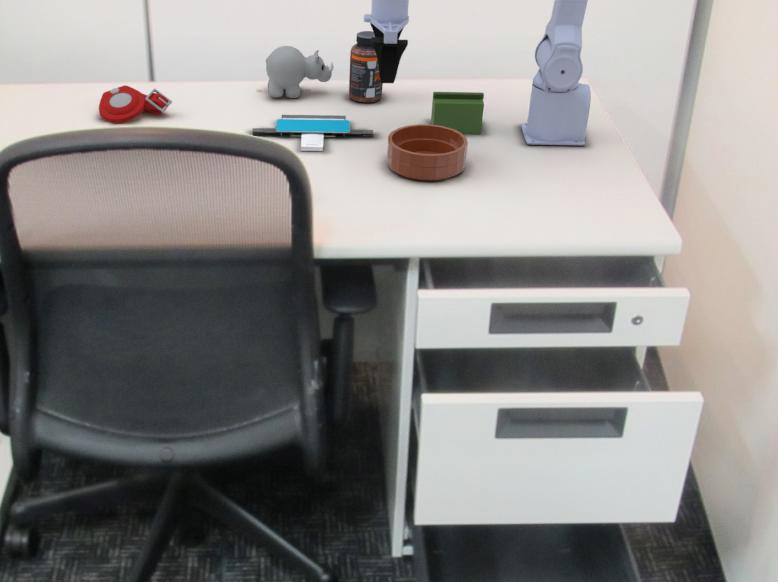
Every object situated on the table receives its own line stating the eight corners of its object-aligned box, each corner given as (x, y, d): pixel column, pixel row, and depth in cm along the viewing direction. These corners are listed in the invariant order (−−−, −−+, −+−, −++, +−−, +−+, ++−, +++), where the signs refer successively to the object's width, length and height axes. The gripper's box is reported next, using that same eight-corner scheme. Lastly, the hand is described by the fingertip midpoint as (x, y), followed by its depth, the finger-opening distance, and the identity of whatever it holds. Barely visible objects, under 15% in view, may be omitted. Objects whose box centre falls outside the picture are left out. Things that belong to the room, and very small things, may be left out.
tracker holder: (104, 121, 186) (88, 88, 192) (111, 142, 190) (95, 108, 195) (172, 96, 188) (154, 64, 194) (177, 117, 191) (159, 85, 197)
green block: (478, 122, 190) (482, 88, 186) (481, 134, 186) (485, 99, 182) (430, 121, 190) (433, 87, 187) (432, 133, 186) (435, 98, 183)
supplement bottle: (379, 105, 196) (382, 40, 189) (346, 102, 197) (348, 38, 190) (384, 93, 201) (387, 30, 194) (351, 90, 202) (353, 27, 195)
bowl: (461, 151, 180) (463, 124, 177) (467, 183, 170) (470, 156, 168) (385, 150, 180) (386, 123, 178) (387, 182, 170) (389, 154, 168)
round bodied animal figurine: (334, 101, 197) (335, 53, 192) (266, 101, 197) (265, 53, 192) (331, 86, 203) (333, 40, 198) (265, 87, 203) (265, 40, 198)
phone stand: (250, 150, 180) (249, 140, 179) (254, 121, 189) (254, 112, 188) (374, 152, 180) (374, 142, 179) (372, 123, 189) (372, 114, 188)
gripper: (364, -26, 178) (361, 58, 186) (365, 1, 166) (362, 89, 174) (408, -26, 178) (403, 59, 186) (413, 1, 166) (407, 90, 174)
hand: (386, 74), depth 180 cm, fingers open, 7 cm apart
